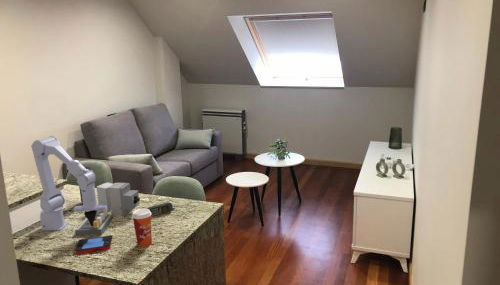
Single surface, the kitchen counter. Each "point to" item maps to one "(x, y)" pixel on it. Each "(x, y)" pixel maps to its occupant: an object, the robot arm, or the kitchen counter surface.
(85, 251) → the game console
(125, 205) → the circuit breaker
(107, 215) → the breaker panel
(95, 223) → the block
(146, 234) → the coffee cup
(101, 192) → the supplement box
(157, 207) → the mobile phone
